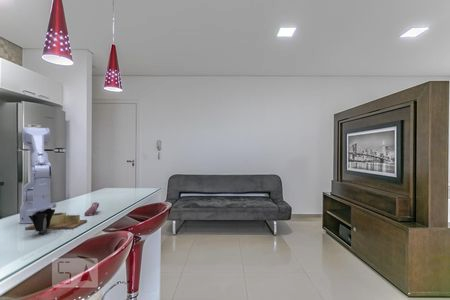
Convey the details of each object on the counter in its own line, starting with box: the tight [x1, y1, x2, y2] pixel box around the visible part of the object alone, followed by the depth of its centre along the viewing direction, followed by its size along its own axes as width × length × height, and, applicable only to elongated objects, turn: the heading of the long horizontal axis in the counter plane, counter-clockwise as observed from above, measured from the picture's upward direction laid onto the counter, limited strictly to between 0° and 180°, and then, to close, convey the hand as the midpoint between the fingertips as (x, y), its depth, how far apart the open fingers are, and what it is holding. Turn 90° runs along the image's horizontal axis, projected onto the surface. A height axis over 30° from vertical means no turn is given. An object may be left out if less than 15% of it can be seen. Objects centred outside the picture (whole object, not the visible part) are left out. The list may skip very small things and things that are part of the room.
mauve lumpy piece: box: [83, 201, 100, 217], centre depth 137 cm, size 10×5×7 cm, turn 17°
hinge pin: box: [37, 214, 48, 236], centre depth 104 cm, size 3×3×8 cm
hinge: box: [50, 212, 81, 226], centre depth 115 cm, size 19×6×4 cm, turn 90°
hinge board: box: [24, 219, 88, 231], centre depth 115 cm, size 20×11×1 cm, turn 90°
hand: (42, 229), depth 104 cm, fingers closed on hinge pin, 3 cm apart
